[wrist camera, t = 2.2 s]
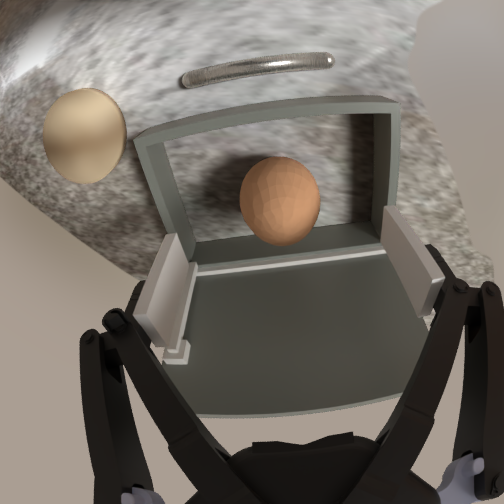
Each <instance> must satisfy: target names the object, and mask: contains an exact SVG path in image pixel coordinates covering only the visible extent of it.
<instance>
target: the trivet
mask: <svg viewBox="0 0 504 504" xmlns="http://www.w3.org/2000/svg"><path fill="white" fill-rule="evenodd" d="M126 139H127V131H126V124H125V120H124V117H123V114H122V112H121V110H120V108H119V106H118V105H117V103H116V102H115V101H114V100H113V99H112V98H111V97H110V96H109V95H108V94H106V93H104V92H103V91H100V90H98V89H93V88H82V89H78V90H75V91H71V92H68V93H66V94H64V95H63V96H61V97H60V98H59V99H58V100H57V101H55V103H54V104H53V105H52V106H51V108H50V110H49V111H48V114H47V116H46V119H45V122H44V127H43V143H44V148H45V152H46V155H47V157H48V159H49V161H50V163H51V164H52V166H53V167H54V169H55V170H56V171H57V172H58V173H59V174H60V175H62V176H63V177H64V178H66V179H68V180H70V181H72V182H75V183H79V184H90V183H94V182H97V181H99V180H101V179H102V178H104V177H105V176H106V175H107V174H109V173H110V172H111V171H112V170H113V169H114V168H115V167H116V166H117V164H118V163H119V161H120V160H121V158H122V156H123V153H124V150H125V146H126Z"/></svg>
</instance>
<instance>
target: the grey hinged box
mask: <svg viewBox="0 0 504 504" xmlns="http://www.w3.org/2000/svg"><path fill="white" fill-rule="evenodd" d="M357 113H373V121H374V171H373V195H372V210H371V221H367V222H358V223H349V224H340V225H331V226H323V227H314V228H312V230H311V231H310V232H309V233H308V234H307V235H306V237H304V238H303V239H302V240H300V241H299V242H297V243H295V244H292V245H288V246H275V245H272V244H270V243H267V242H265V241H263V240H261V239H260V238H259V237H258V236H256V235H250V236H243V237H235V238H228V239H220V240H213V241H206V242H198V243H196V240H195V238H194V235H193V232H192V229H191V226H190V223H189V221H188V218H187V215H186V212H185V209H184V206H183V203H182V200H181V197H180V194H179V191H178V188H177V185H176V182H175V179H174V176H173V173H172V169H171V166H170V163H169V160H168V157H167V153H166V150H165V147H164V144H163V142H164V141H168V140H172V139H176V138H180V137H184V136H188V135H193V134H197V133H201V132H206V131H211V130H216V129H221V128H226V127H231V126H237V125H243V124H249V123H255V122H262V121H269V120H277V119H285V118H295V117H305V116H317V115H332V114H357ZM400 138H401V103H399V102H396V101H394V100H391V99H388V98H386V97H383V96H326V97H310V98H298V99H288V100H279V101H271V102H264V103H257V104H250V105H244V106H238V107H233V108H227V109H222V110H217V111H212V112H208V113H203V114H199V115H195V116H191V117H186V118H183V119H179V120H175V121H171V122H168V123H164V124H161V125H157V126H154V127H150V128H148V129H147V130H146V131H144V132H143V133H142V134H140V135H139V136H137V137H136V138H135V139H133V141H134V144H135V147H136V150H137V153H138V156H139V159H140V162H141V165H142V168H143V171H144V174H145V176H146V179H147V182H148V185H149V187H150V190H151V193H152V195H153V198H154V201H155V203H156V206H157V209H158V211H159V214H160V216H161V219H162V221H163V224H164V226H165V229H166V231H167V234H172V233H177V235H178V238H179V241H180V243H181V246H182V248H183V251H184V253H185V256H186V258H187V261H188V263H189V269H188V272H187V276H186V280H185V283H184V287H183V291H182V294H181V298H180V302H179V306H178V310H177V314H176V318H175V322H174V326H173V330H172V334H171V338H170V342H169V347H165V349H164V353H163V358H162V359H163V361H162V367H163V368H164V370H165V371H166V373H167V374H168V376H169V377H170V379H171V380H172V382H173V383H174V385H175V386H176V388H177V389H178V391H179V392H180V393H181V395H182V396H183V398H184V399H185V400H186V402H187V403H188V405H189V406H190V407H191V409H192V410H193V411H194V413H195V414H196V415H197V417H199V418H267V417H282V416H294V415H303V414H313V413H320V412H327V411H335V410H341V409H347V408H352V407H357V406H362V405H367V404H372V403H376V402H381V401H385V400H389V399H393V398H396V397H401V396H402V394H403V392H404V390H405V388H406V385H407V383H408V381H409V379H410V377H411V375H412V373H413V370H414V368H415V366H416V364H417V361H418V359H419V356H420V354H421V352H422V349H423V346H424V344H425V341H426V339H427V336H428V333H429V331H428V329H427V326H426V324H425V321H424V319H423V317H420V318H418V317H417V314H416V312H415V310H414V308H413V305H412V303H411V301H410V299H409V297H408V295H407V293H406V291H405V288H404V286H403V284H402V282H401V280H400V278H399V276H398V274H397V272H396V270H395V268H394V266H393V265H392V263H391V261H390V259H389V257H388V255H387V253H386V251H385V250H384V248H383V246H382V244H381V242H380V239H381V230H382V221H383V211H384V206H390V205H395V206H396V198H397V188H398V177H399V162H400Z"/></svg>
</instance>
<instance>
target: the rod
mask: <svg viewBox="0 0 504 504" xmlns="http://www.w3.org/2000/svg"><path fill="white" fill-rule="evenodd" d="M334 64H335V58H334V57H333V55H332V54H330V53H327V52H312V53H296V54H284V55H274V56H266V57H258V58H252V59H245V60H239V61H234V62H229V63H223V64H219V65H214V66H210V67H205V68H201V69H197V70H193V71H189V72H187V73H185V74H184V76H183V78H182V83H183V85H184V86H185V87H187V88H195V87H199V86H203V85H208V84H212V83H217V82H221V81H226V80H232V79H237V78H243V77H249V76H255V75H262V74H270V73H278V72H288V71H300V70H315V69H330V68H332V67H333V66H334Z"/></svg>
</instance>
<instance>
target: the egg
mask: <svg viewBox="0 0 504 504" xmlns="http://www.w3.org/2000/svg"><path fill="white" fill-rule="evenodd" d="M240 207H241V212H242V215H243V217H244V220H245V222H246V223H247V225H248V226H249V227H250V229H251V230H252V231H253V232H254V234H255V235H256V236H258V237H259V238H260V239H261V240H263V241H265V242H267V243H270V244H272V245H275V246H288V245H292V244H295V243H297V242H299V241H300V240H302V239H303V238H304V237H306V235H307V234H308V233H309V232H310V231H311V230H312V228H313V226H314V224H315V222H316V220H317V218H318V214H319V211H320V195H319V190H318V187H317V184H316V181H315V179H314V177H313V176H312V174H311V173H310V171H309V170H308V169H307V168H306V167H305V166H304V165H302V164H301V163H299V162H298V161H296V160H293V159H290V158H287V157H270V158H266V159H264V160H262V161H260V162H258V163H257V164H256V165H254V166H253V167H252V168H251V169H250V170H249V172H248V173H247V174H246V176H245V178H244V180H243V182H242V186H241V190H240Z"/></svg>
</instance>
